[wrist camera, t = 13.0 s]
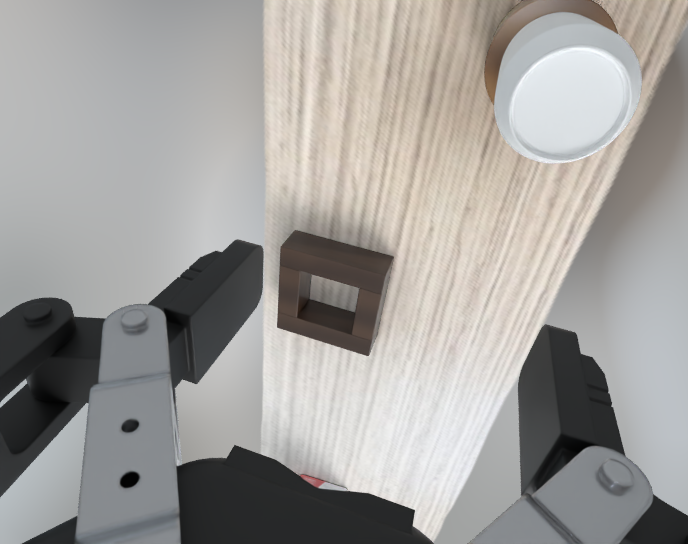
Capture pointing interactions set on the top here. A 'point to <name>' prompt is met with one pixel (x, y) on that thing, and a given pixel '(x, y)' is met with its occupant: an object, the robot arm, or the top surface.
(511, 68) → the beverage can
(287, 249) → the can stand
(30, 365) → the robot arm
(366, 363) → the top surface
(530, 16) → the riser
